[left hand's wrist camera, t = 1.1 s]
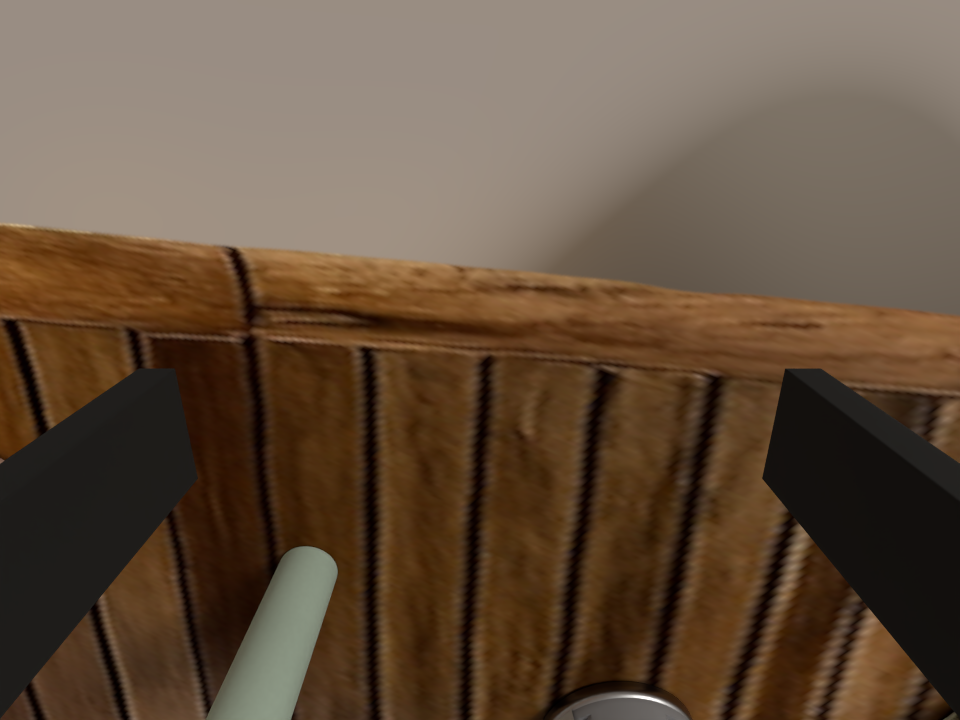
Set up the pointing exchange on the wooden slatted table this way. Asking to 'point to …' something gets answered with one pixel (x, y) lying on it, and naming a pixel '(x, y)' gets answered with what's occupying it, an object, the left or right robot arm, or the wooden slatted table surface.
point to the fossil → (952, 717)
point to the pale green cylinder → (279, 640)
